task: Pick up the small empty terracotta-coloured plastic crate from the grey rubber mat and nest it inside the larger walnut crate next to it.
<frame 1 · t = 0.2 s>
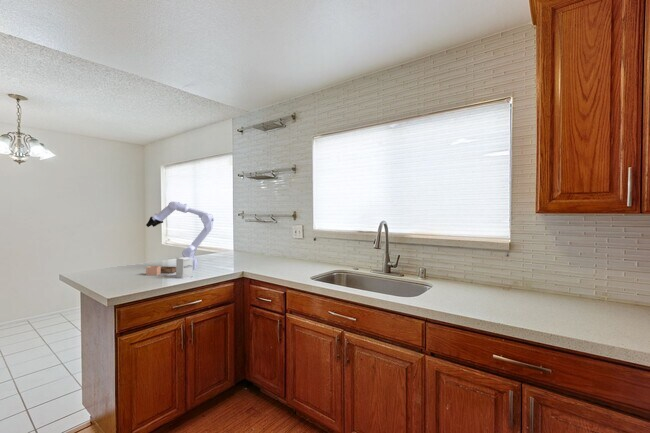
hand: (149, 225, 220), 31 cm above the worktop, tool tilted 45°, fingers open, 7 cm apart
walnut crate: (166, 272, 211), resting on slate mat
supplement box: (184, 277, 199), on the worktop
terracotta crate: (153, 274, 202), resting on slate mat
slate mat: (160, 273, 207), on the worktop
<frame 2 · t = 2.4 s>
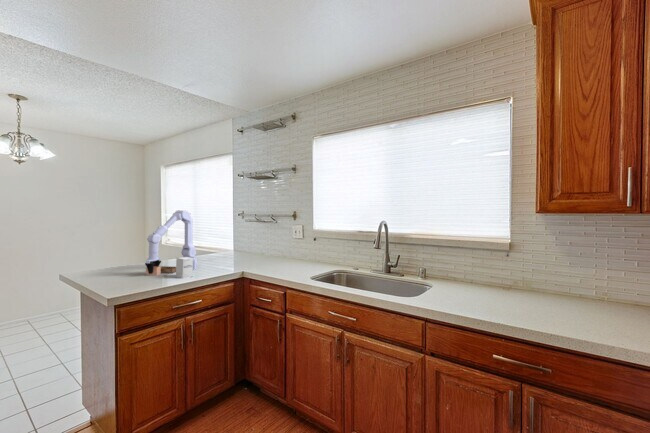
hand: (153, 272, 202), 2 cm above the worktop, tool pointing down, fingers open, 6 cm apart
nothing on the worktop moved.
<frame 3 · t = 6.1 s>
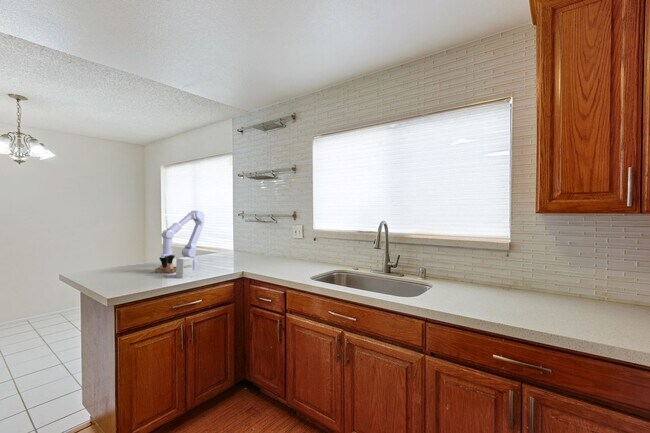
hand: (167, 266, 211), 4 cm above the worktop, tool pointing down, fingers open, 7 cm apart
terracotta crate: (166, 271, 211), point 1 cm above the worktop, touching walnut crate
everything else where it was.
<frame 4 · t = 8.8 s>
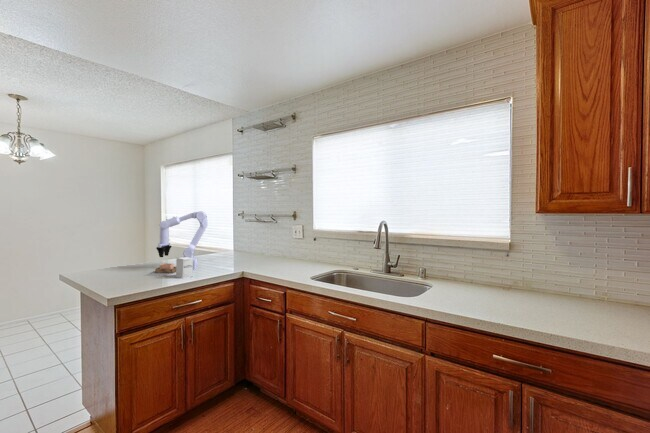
hand: (163, 256, 218), 10 cm above the worktop, tool pointing down, fingers open, 7 cm apart
nothing on the worktop moved.
at the end: terracotta crate 0.1 cm off-centre on the walnut crate, point 0.5 cm above the walnut crate's base; terracotta crate tilted 0°; the gripper is holding nothing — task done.
